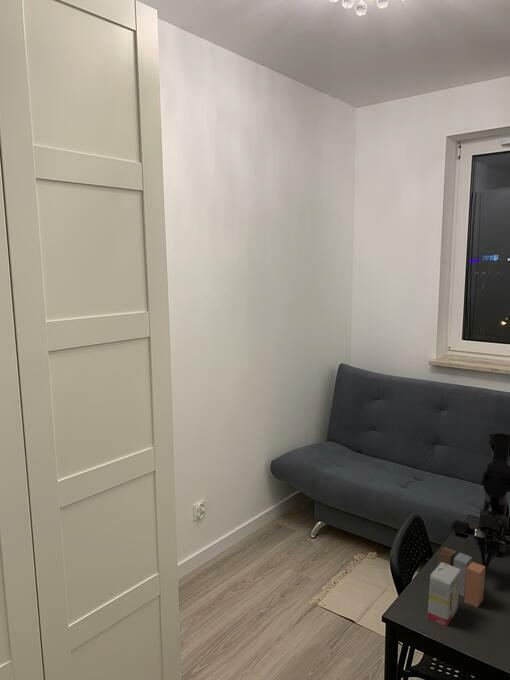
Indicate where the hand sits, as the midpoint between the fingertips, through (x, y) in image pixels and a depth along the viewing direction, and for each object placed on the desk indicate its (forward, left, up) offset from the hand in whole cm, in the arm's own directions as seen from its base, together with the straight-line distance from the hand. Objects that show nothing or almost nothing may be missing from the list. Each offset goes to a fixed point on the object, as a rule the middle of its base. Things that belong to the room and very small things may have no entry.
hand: (484, 569), depth 134 cm
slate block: (+5, -4, -5) cm, 8 cm away
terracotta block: (+7, 0, -5) cm, 9 cm away
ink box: (+17, -4, -7) cm, 19 cm away
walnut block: (+5, -8, -5) cm, 11 cm away
